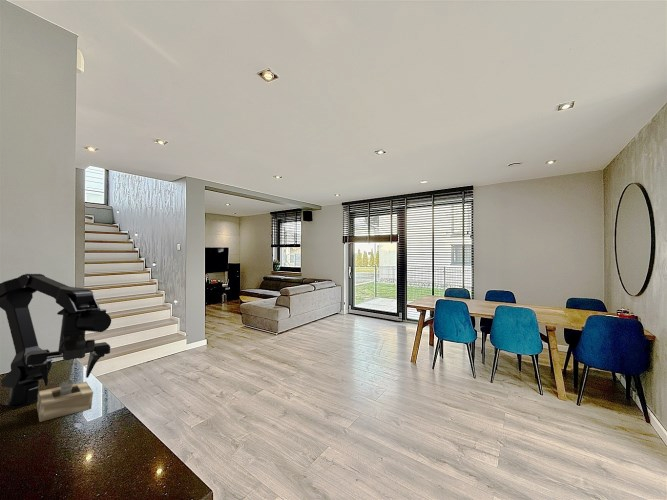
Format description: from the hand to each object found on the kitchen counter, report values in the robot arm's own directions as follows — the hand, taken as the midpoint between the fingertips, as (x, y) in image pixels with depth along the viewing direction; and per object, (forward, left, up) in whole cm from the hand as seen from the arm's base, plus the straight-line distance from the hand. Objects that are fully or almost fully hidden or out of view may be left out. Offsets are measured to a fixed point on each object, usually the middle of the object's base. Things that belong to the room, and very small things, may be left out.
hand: (67, 381), depth 86 cm
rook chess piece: (0, 0, -8) cm, 8 cm away
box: (0, 0, -8) cm, 8 cm away
